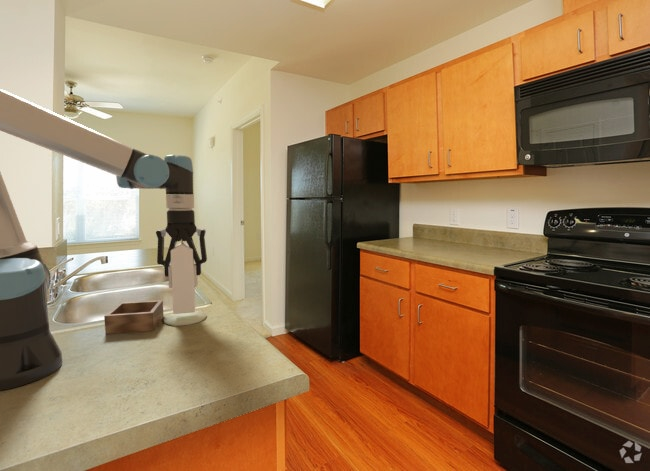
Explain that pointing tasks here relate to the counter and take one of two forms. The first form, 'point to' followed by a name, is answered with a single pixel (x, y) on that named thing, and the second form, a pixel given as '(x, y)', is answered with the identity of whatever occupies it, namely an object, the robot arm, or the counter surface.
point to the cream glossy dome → (184, 318)
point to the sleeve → (134, 317)
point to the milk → (183, 279)
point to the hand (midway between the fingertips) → (183, 286)
